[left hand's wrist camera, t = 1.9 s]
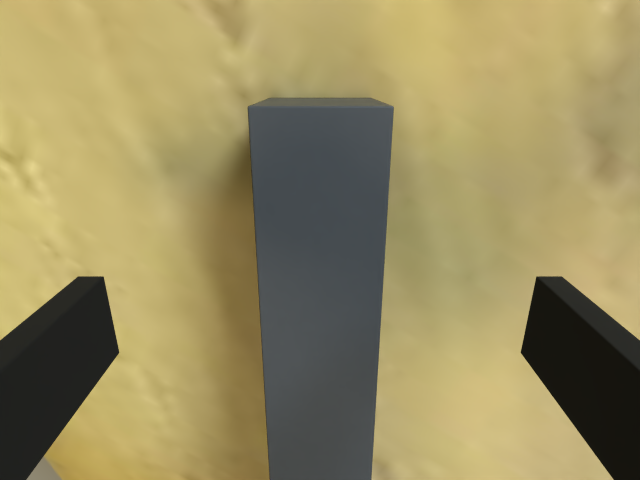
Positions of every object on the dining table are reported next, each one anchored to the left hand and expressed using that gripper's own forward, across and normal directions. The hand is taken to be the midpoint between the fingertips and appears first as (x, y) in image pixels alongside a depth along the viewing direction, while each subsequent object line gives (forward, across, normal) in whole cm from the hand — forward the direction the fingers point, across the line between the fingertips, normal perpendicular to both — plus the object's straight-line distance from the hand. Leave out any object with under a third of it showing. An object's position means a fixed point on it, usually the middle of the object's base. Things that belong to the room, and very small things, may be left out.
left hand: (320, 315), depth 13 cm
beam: (+14, 0, -24) cm, 28 cm away
